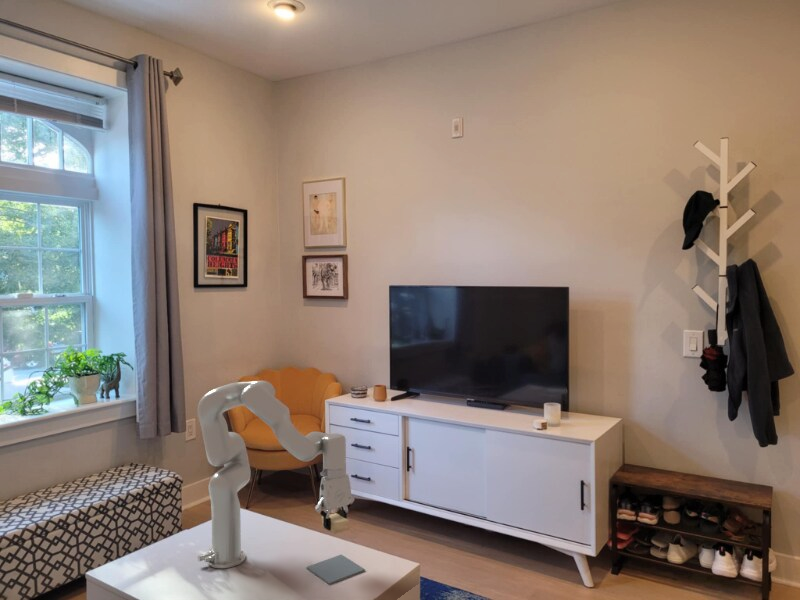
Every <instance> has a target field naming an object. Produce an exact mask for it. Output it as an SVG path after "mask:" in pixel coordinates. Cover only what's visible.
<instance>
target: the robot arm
mask: <svg viewBox="0 0 800 600" xmlns="http://www.w3.org/2000/svg"><path fill="white" fill-rule="evenodd" d="M275 396H276V390H275V388H274V386H273V384H272V383H271V382H269V381H266V380H253V381H252V380H251V381H239V382H238V381H237V382H231V383H228V384H225V385H221V386H219V387H216V388H213V389H212V390H210V391H208V392H206V393H205V394H204V395H203V396H202V397H201V399H200V400H199V402H198V405H197V418H198V421H199V424H200V428H201V429H200V430H201V433H202V439H203V443H204V444H203V445H204V449H205V453H206V454H205V455H206V459H207V462H208V463H209V464H210V465H211V466H213V467H222V466H223V467H222V468H221V469H219V470H217V472H215V473H214V474H213V475H212V476H211V478H210V479H209V483H208V493H209V494H208V495H209V499H210V505H211V506H210V510H211V511H210V512H211V547H210V548H209V549H208V551H207V552H206V553H205V554H199V555H197V561H198V562H203V561H204V563H207V564H208V566H209V567H211V568H215V569H229V568H233V567H236V566H238V565H240V564H242V563H244V562H245V560H246V552H245V551H244V550H242V540H241V539H242V534H241V531H242V530H241V529H242V527H241V526H242V525H241V504H240V500H239V497H238V496H239V495H238V492H239V491H240V490H241V489H243V488H244V487H246V485H247V484H248V483H249V481H250V479H251V474H252V473H251V472H252V471H251V467H250V465H251V464H250V461H249V460H250V459H249V456H248V451H247V446H246V443H245V440H244V438H243V437H242V436H241V435H240V434H239V433H237V432H234V431H229V428H228V423H227V420H226V418H225V416H224V415H223V413H225V412H227V411H229V410H232V409H234V408H236V407H242V406H245V407H246V408H247V409H248V410H249V411H250V412H251V413H252V414H254V415H255V416H256V417H258V419H260V420H261V421H262V422H263V423H265V425H267V426H269V428H271V430H272V432H273V434H274V435H275V438H276V439H277V441H278V442H279V444H280V446H282V447H283V449H285V450H286V451H287V452H288V453H289V454H291V455H292V456H294V457H295V458H296V459H298V460H300V461H302V462H310V461H312V460H314V459H315V458H316V457H318V455H319V456H320V455H321V454H322V463H323V464H322V471H321V472H319V475H320V476H321V480H320V487H319V501H318V502H317V504H316V505H315V507H314V511H316V512H317V513H318V514H320V516H321V517H323V525H324V529H325V528H326V529H325V530H327V531H328V530H331V518H329V516H330V515H331V511H333V510H336V509H337V510H338V509H340V510H339V515H340V516H342V517H344V518H346V519H348V516H347V515H348V513H349V509H350V507H352V504H353V503H354V501H355V500H356V499H355V497H354V496H353V495H352V487H351V481H350V477H349V473H347V454H346V453H347V451H346V450H347V444H346V442H347V441H346V440H347V439H346V437H345V435H344V434H342V433H325V432H321V431H311V432H309V433H307V434H306V435H303V433H301V432H300V431H299V430H298V429H297V428H296V426H294V424H293V423H292V420H291V416H290V415H291V413H290V409H289V407H287V405H285V404H284V403H282V401H280V400H279V399H278V398H276V397H275Z"/></svg>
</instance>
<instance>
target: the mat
mask: <svg viewBox="0 0 800 600" xmlns="http://www.w3.org/2000/svg"><path fill="white" fill-rule="evenodd" d="M305 568H306V570H308V571H309V572H311V573H312V574H313V575H314V576H316V577H317V578H318V579H320V580H321V581H323V582H324V583H325V584H327V585H329V586H330V585H334V584H335V583H338V582H340V581H343V580H346V579H348V578H351V577H353V576H356V575H358V574H360V573H363V572H366V569H365V568H364V567H362V566H361V565H359V564H357V563H356V562H355V561H352V560H351V559H349V558H348V557H346V556H345V555H343V554H339V555H336V556H333V557H330V558H327V559H324V560H322V561H318V562H316V563H313V564H311V565H307V566H306V567H305Z"/></svg>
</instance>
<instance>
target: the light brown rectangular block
mask: <svg viewBox="0 0 800 600" xmlns="http://www.w3.org/2000/svg"><path fill="white" fill-rule="evenodd" d="M329 518H331V530H327V529H326V528H324V525H323V516H321V527H322V528H324V529H325V530H327V531H328V532H330V533H332V534H333V535H337V534H340V533H344V532H346V531H349V530H350V520H349V519H348V518H347V519H346V518H344V517H342V516H340V514H339V513H330V516H329Z"/></svg>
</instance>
